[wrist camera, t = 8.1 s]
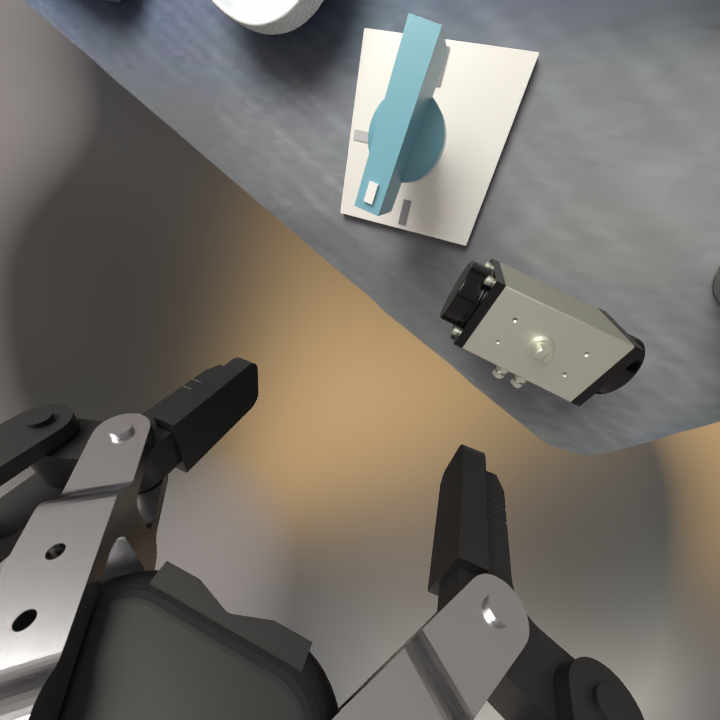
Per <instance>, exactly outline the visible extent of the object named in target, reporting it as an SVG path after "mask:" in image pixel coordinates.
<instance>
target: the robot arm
mask: <svg viewBox="0 0 720 720" xmlns="http://www.w3.org/2000/svg"><path fill="white" fill-rule="evenodd" d="M713 290H714V295H715V297H716V299H717V301H718V302H719V303H720V269H719V271H718V273H717V275H716V277H715V280H714V285H713ZM257 397H258V369H257V365H256V364H254V363H251V362H249V361H246V360H244V359H241V358H238V357H237V358H234V359H233V360H231V361H230V362H228V363H227V364H226V365H224V366H222V365H219V366H216V367H213V368H210V369H207V370H205V371H204V372H202V373H201V374H199V375H198V376H196V377H195V378H194V380H191V381H189V382H188V383H186V384H185V385H184V387H180V388H179V389H178V390H176V391H175V392H173V393H172V394H170V395H169V396H168V397H166V398H165V399H163V400H162V401H160V402H159V403H157V404H156V405H154V406H153V407H151V408H150V409H149V410H147V411H146V412H144V413H142V414H135V413H131V414H122V415H118V416H116V417H113V418H110V419H108V420H106V421H95V420H86V419H77V418H76V416H75V414H74V412H73V411H72V409H71V408H70V407H68V406H67V405H63V404H48V405H42V406H38V407H35V408H32V409H29V410H27V411H24V412H22V413H20V414H19V415H17V416H15V417H13V418H11V419H9V420H7V421H6V422H4V423H2V424H0V486H1V485H3V484H4V483H6V482H7V481H9V480H10V479H12V478H13V477H15V476H16V475H18V474H19V473H20V472H22V471H23V470H25V469H26V468H28V467H29V466H31V468H32V469H33V470H34V471H35V474H34V475H32V476H31V477H30V478H28V479H27V480H25V481H24V482H23V483H21V484H20V485H18V486H17V487H15V488H14V489H13V490H11V491H10V492H8V493H7V494H5V495H4V496H3V497H1V498H0V563H1V562H2V561H3V560H4V559H5V558H7V557H8V556H9V555H10V556H9V557H8V559H7V561H6V563H5V565H4V566H3V568H2V570H1V572H0V720H474V718H475V717H476V715H477V714H478V712H479V711H480V709H481V708H482V706H483V705H484V704H485V702H486V701H488V702H489V703H490V704H491V705H492V706H493V707H494V709H495V710H496V711H497V712H498V713H499V714H500V715H501V716H502V717H503V718H504V719H505V720H644V718H643V716H642V713H641V711H640V709H639V707H638V706H637V703H636V702H635V700H634V698H633V697H632V695H631V694H630V692H629V691H628V689H627V688H626V687H625V685H624V684H623V683H622V682H621V680H620V679H619V678H618V677H617V676H616V675H615V674H614V673H613V672H612V671H611V670H610V669H609V668H607V667H606V666H605V665H603V664H602V663H600V662H599V661H597V660H595V659H592V658H589V657H580V658H577V659H574V658H573V657H572V656H570V655H569V654H568V653H567V652H566V651H565V650H563V649H562V648H561V647H560V646H559V645H557V644H556V643H555V642H554V641H553V640H552V639H551V638H549V637H548V636H547V635H546V634H545V633H544V632H543V631H541V630H540V629H539V628H538V627H537V626H536V625H535V624H534V623H533V622H532V620H530V618H529V617H528V615H527V614H526V611H525V608H524V606H523V604H522V602H521V600H520V599H519V597H518V596H517V594H516V593H515V591H514V588H513V584H512V577H511V566H510V555H509V543H508V532H507V525H506V521H507V520H506V511H505V498H504V491H503V489H502V486H501V484H500V482H499V480H498V478H497V476H496V475H495V474H493V473H490V472H488V471H486V460H485V454H484V453H483V452H480V451H478V450H475V449H472V448H470V447H467V446H464V445H460V447H459V448H458V450H457V452H456V453H455V455H454V456H453V458H452V460H451V462H450V463H449V465H448V467H447V468H446V470H445V472H444V474H443V477H442V481H441V485H440V492H439V500H438V509H437V518H436V526H435V534H434V542H433V550H432V559H431V567H430V576H429V584H428V591H429V592H431V593H433V594H435V595H437V596H439V597H438V609H437V612H436V613H435V614H434V615H433V616H432V617H431V618H430V619H429V620H428V621H427V622H426V623H425V624H424V625H423V626H422V627H421V628H420V629H419V630H418V631H417V632H416V633H415V634H414V635H413V636H412V637H411V638H410V639H409V640H408V641H407V642H406V643H405V644H404V645H403V646H402V647H401V648H400V649H399V650H398V651H397V652H396V653H394V654H393V655H392V656H391V657H390V658H389V659H388V660H387V661H386V662H385V663H384V664H383V665H382V666H381V667H380V668H379V669H378V670H377V671H376V672H375V673H374V674H373V675H372V676H371V677H370V678H368V679H367V681H366V682H364V684H363V685H361V686H360V687H359V688H358V689H357V690H356V691H355V692H354V693H353V694H352V695H351V696H350V697H349V698H348V699H347V700H346V701H345V702H344V703H343V704H342V705H341V706H340V707H339V708H338V705H337V701H336V698H335V695H334V692H333V689H332V686H331V684H330V682H329V680H328V678H327V676H326V674H325V672H324V670H323V669H322V667H321V665H320V664H319V662H318V661H317V660H316V658H315V657H314V656H313V655H312V654H311V652H310V651H309V650H310V647H311V645H312V642H311V641H309V640H308V639H306V638H304V637H302V636H301V635H299V634H297V633H295V632H293V631H292V630H290V629H288V628H286V627H284V626H283V625H281V624H279V623H277V622H275V621H273V620H267V619H260V618H254V617H247V616H241V615H234V614H230V613H228V612H227V611H225V609H224V608H223V607H222V606H221V605H220V604H219V602H218V601H217V600H216V598H214V596H213V595H212V594H211V592H210V591H209V590H208V589H207V588H206V586H205V585H204V584H203V583H202V581H201V580H200V579H198V578H196V577H195V576H193V575H191V574H189V573H187V572H186V571H184V570H182V569H180V568H178V567H177V566H175V565H173V564H171V563H169V562H168V561H166V563H165V564H164V565H163V566H162V568H161V569H160V570H155V566H156V558H157V544H156V534H157V529H158V524H159V520H160V515H161V510H162V506H163V501H164V497H165V492H166V487H167V483H168V474H169V473H170V472H171V471H172V470H173V469H174V468H175V467H176V468H178V469H180V470H182V471H184V472H188V471H189V470H190V469H191V468H192V467H193V466H194V465H195V464H196V463H197V462H198V461H199V460H200V459H201V458H202V457H203V456H204V455H205V454H206V453H207V452H208V451H209V450H210V449H211V448H212V447H213V446H214V445H215V444H216V443H217V442H218V441H219V440H220V439H221V438H222V437H223V436H224V435H225V434H226V433H227V432H228V431H229V430H230V429H231V428H232V427H233V426H234V425H235V424H236V423H237V422H238V421H239V420H240V419H241V418H242V417H243V416H244V415H245V414H246V413H247V412H248V411H249V410H250V409H251V408H252V407H253V405H254V404H255V402H256V400H257Z"/></svg>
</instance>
